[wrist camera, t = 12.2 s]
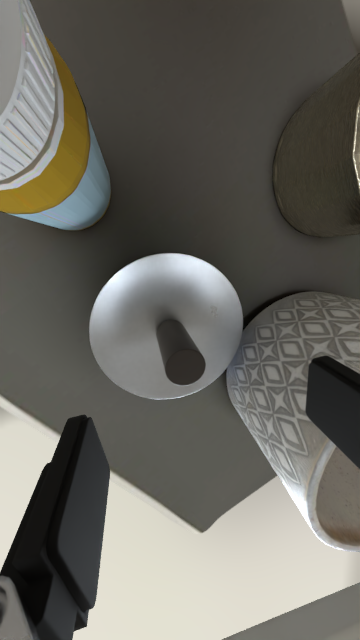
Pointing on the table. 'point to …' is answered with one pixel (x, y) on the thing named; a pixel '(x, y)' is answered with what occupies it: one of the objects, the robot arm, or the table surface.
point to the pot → (323, 159)
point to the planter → (301, 405)
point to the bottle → (45, 131)
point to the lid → (166, 325)
